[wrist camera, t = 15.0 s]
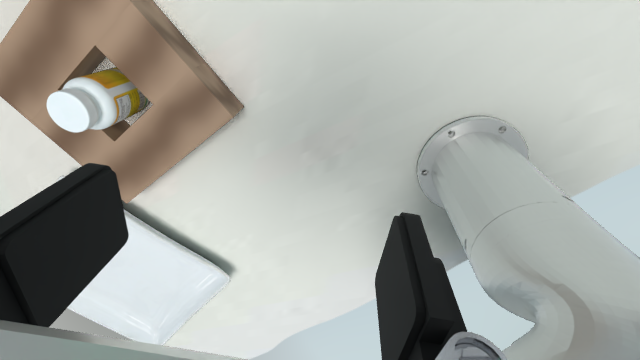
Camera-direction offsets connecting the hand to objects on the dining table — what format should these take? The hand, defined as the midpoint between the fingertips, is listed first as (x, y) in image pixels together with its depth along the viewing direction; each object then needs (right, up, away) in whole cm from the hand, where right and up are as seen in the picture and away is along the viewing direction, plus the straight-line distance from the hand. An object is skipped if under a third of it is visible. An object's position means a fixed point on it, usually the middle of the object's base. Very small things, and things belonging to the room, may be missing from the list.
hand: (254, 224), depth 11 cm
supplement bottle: (-21, +13, +28) cm, 37 cm away
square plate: (-30, -13, +43) cm, 54 cm away
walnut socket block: (-21, +12, +27) cm, 37 cm away
